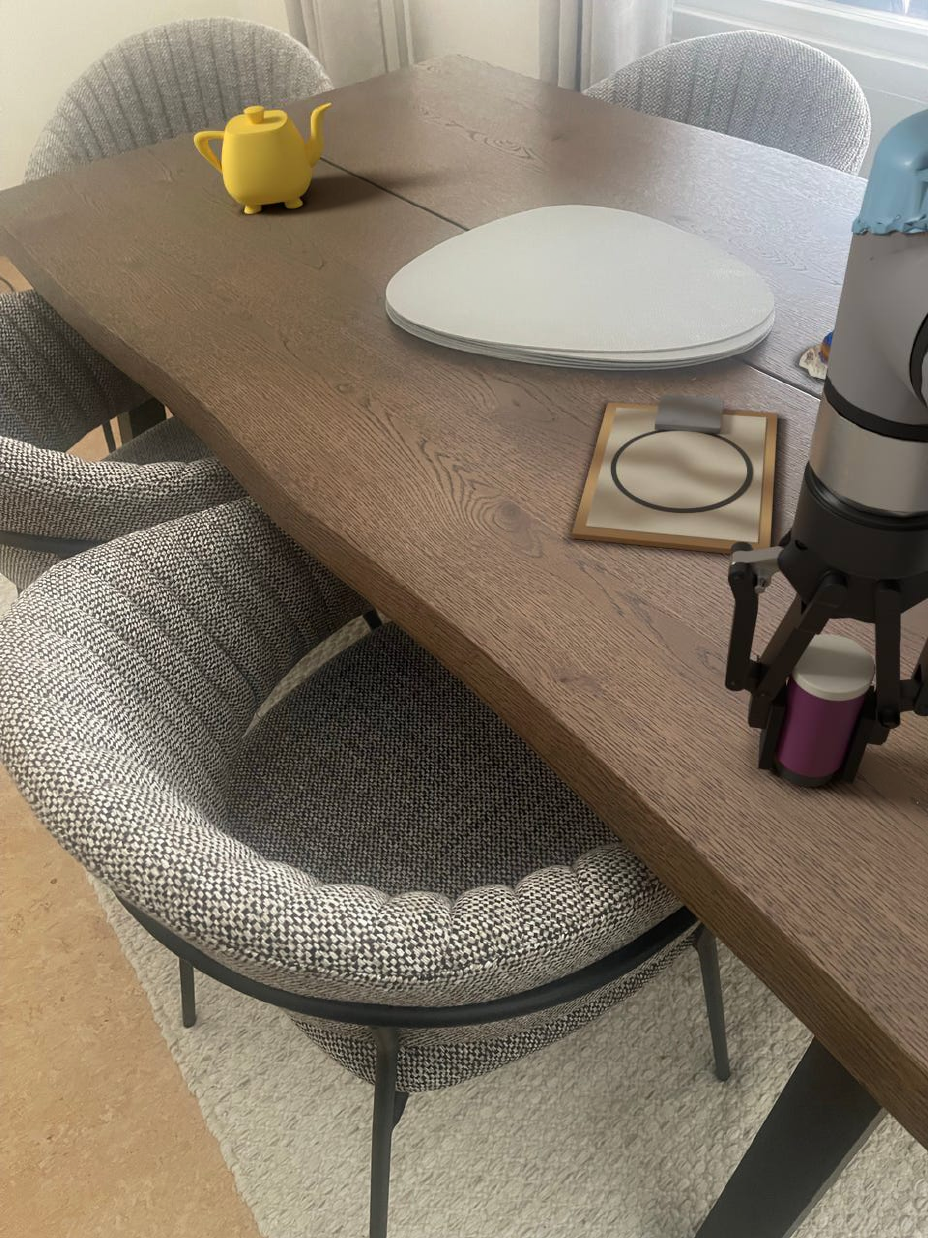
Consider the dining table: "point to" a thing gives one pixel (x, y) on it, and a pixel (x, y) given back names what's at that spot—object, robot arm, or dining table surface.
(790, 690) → the cylinder
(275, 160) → the teapot
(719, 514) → the sketch board
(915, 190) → the robot arm
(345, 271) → the dining table surface
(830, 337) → the dessert
